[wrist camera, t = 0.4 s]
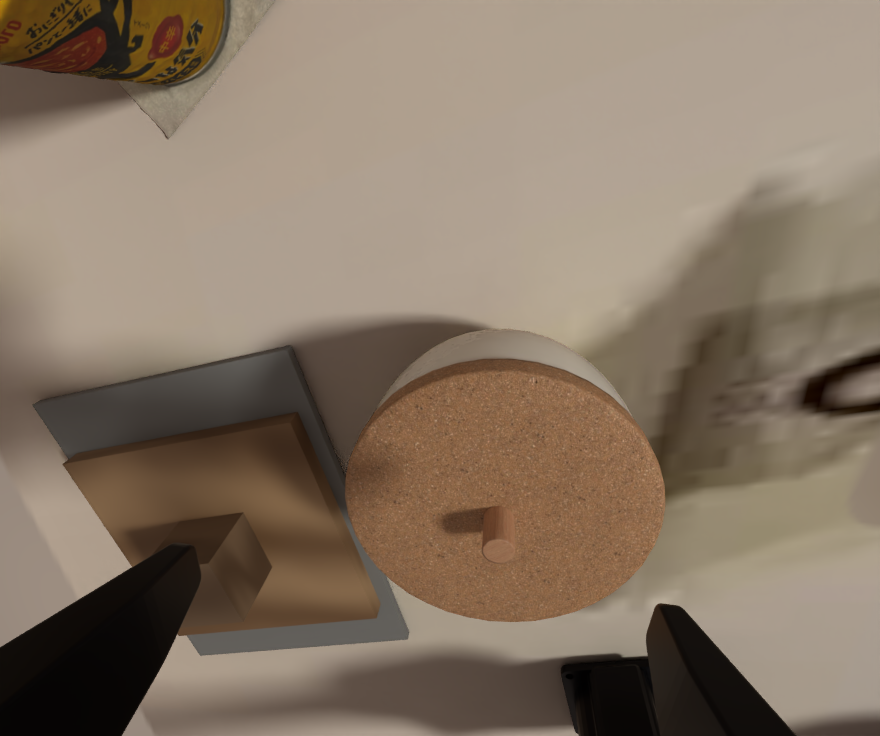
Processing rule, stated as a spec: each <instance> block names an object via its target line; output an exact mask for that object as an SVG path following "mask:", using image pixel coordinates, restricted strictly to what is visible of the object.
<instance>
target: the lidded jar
mask: <svg viewBox="0 0 880 736" xmlns="http://www.w3.org/2000/svg"><path fill="white" fill-rule="evenodd" d="M345 499H346V505H347V511H348V516H349V519H350V521H351V524H352V527H353V530H354V532H355V535H356V537H357V538H358V540H359V542H360V543H361V545H362V547H363V549H364V550H365V552H366V553H367V555H368V556H369V557H370V558H371V560H372V561H373V562H374V564H375V565H376V566H377V567H378V568H379V569H380V570H381V571H382V572H383V573H384V574H385V575H386V576H387V577H388V578H389V579H391V580H392V581H393V582H394V583H395V584H397V585H398V586H400V587H401V588H402V589H404V590H405V591H406V592H408V593H409V594H411V595H413V596H415V597H417V598H418V599H420V600H422V601H424V602H426V603H428V604H430V605H433V606H435V607H438V608H440V609H442V610H445V611H447V612H451V613H455V614H458V615H462V616H466V617H470V618H476V619H482V620H487V621H503V622H520V621H536V620H542V619H547V618H553V617H557V616H561V615H565V614H568V613H572V612H575V611H578V610H580V609H582V608H585V607H587V606H589V605H591V604H594V603H596V602H597V601H599V600H601V599H603V598H604V597H606V596H608V595H610V594H611V593H613V592H614V591H615V590H617V589H618V588H619V587H620V586H621V585H623V584H624V583H625V582H626V581H627V580H629V579H630V578H631V576H632V575H633V574H634V573H635V572H636V571H637V570H638V569H639V568H640V567H641V566H642V565H643V563H644V561H645V560H646V558H647V556H648V555H649V553H650V552H651V550H652V548H653V547H654V545H655V543H656V540H657V538H658V535H659V532H660V530H661V527H662V523H663V517H664V511H665V487H664V482H663V478H662V474H661V470H660V466H659V463H658V461H657V458H656V456H655V454H654V452H653V450H652V448H651V446H650V444H649V442H648V440H647V438H646V436H645V434H644V432H643V431H642V430H641V428H640V427H639V426H638V424H637V423H636V422H635V420H634V419H633V417H632V415H631V413H630V411H629V410H628V408H627V406H626V404H625V403H624V401H623V400H622V398H621V397H620V396H619V394H618V393H617V392H616V390H615V389H614V388H613V386H612V385H611V384H610V383H609V381H608V380H607V379H606V378H605V376H604V375H603V374H602V373H601V372H599V371H598V370H597V369H596V368H595V367H594V366H593V365H592V364H591V363H590V362H589V361H587V360H586V359H585V358H584V357H582V356H581V355H579V354H578V353H576V352H575V351H573V350H572V349H570V348H569V347H567V346H566V345H564V344H562V343H560V342H557V341H555V340H553V339H551V338H549V337H546V336H542V335H539V334H535V333H532V332H528V331H520V330H513V329H487V330H481V331H475V332H469V333H466V334H462V335H459V336H456V337H453V338H450V339H448V340H446V341H444V342H442V343H440V344H438V345H436V346H434V347H433V348H431V349H430V350H428V351H427V352H426V353H424V354H423V355H422V356H420V357H419V358H418V359H416V360H415V361H414V362H413V363H411V364H410V365H409V366H408V367H407V368H406V369H405V370H404V371H403V373H402V374H401V375H400V376H399V377H398V378H397V379H396V380H395V382H394V383H393V384H392V385H391V387H390V388H389V390H388V391H387V393H386V394H385V395H384V397H383V398H382V400H381V401H380V403H379V405H378V407H377V409H376V410H375V412H374V414H373V415H372V417H371V418H370V420H369V421H368V423H367V424H366V426H365V427H364V429H363V430H362V432H361V434H360V436H359V438H358V441H357V443H356V445H355V448H354V450H353V452H352V454H351V457H350V459H349V464H348V469H347V473H346V478H345Z"/></svg>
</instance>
